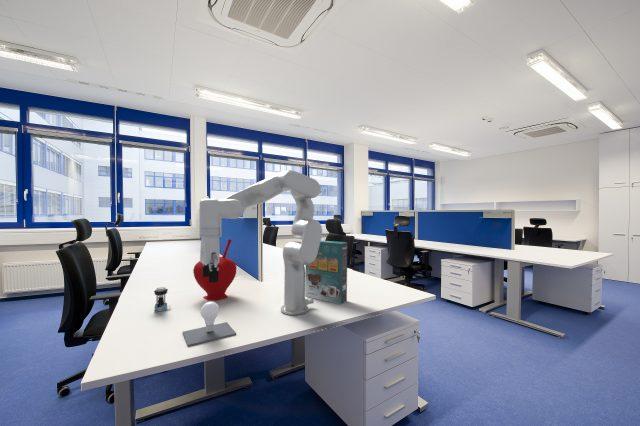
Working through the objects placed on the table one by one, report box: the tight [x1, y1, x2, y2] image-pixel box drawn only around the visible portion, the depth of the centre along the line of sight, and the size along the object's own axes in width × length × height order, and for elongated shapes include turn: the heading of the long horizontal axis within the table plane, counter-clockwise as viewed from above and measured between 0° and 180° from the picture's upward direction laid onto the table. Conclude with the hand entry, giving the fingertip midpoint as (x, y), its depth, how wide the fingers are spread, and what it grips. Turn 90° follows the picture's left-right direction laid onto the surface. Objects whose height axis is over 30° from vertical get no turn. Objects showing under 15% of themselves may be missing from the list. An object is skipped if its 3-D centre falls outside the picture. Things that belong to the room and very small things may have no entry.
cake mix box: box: [305, 240, 348, 305], centre depth 141 cm, size 22×6×30 cm, turn 58°
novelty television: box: [192, 238, 237, 302], centre depth 141 cm, size 21×13×30 cm, turn 144°
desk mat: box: [182, 321, 237, 348], centre depth 98 cm, size 16×12×1 cm
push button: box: [153, 286, 171, 312], centre depth 122 cm, size 7×5×10 cm
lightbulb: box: [200, 300, 220, 332], centre depth 99 cm, size 6×6×11 cm
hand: (210, 279), depth 98 cm, fingers open, 9 cm apart
